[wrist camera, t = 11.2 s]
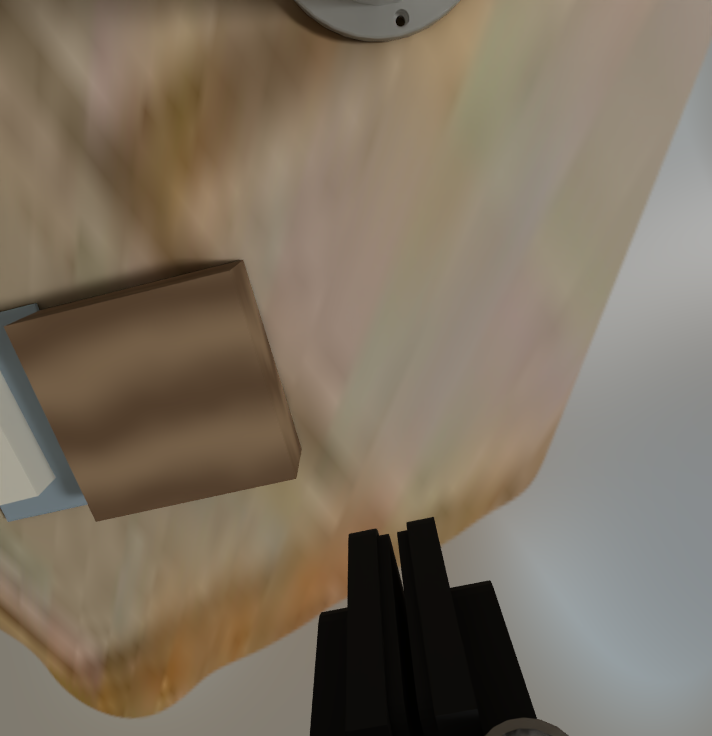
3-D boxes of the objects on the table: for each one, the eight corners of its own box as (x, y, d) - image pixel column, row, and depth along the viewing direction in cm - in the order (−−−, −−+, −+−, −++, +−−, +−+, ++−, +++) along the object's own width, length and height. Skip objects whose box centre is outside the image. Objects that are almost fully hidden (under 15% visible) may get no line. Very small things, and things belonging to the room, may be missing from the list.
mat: (-89, 334, 37) (-93, 335, 37) (36, 302, 36) (33, 304, 36) (10, 519, 42) (8, 521, 42) (122, 495, 41) (120, 497, 41)
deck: (39, 310, 36) (3, 326, 33) (243, 259, 35) (229, 270, 32) (119, 489, 41) (95, 521, 37) (301, 449, 40) (296, 478, 36)
